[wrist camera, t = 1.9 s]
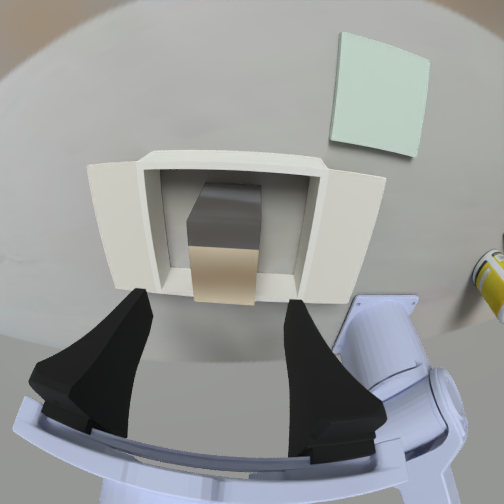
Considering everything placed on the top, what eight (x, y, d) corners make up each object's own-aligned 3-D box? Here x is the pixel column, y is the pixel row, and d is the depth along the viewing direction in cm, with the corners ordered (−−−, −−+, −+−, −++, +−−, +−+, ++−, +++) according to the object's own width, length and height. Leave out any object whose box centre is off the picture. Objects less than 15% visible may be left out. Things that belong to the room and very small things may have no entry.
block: (255, 253, 23) (254, 305, 18) (207, 250, 23) (194, 301, 18) (260, 185, 19) (260, 225, 14) (205, 182, 19) (186, 221, 14)
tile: (412, 155, 17) (415, 157, 17) (329, 138, 17) (331, 140, 17) (425, 61, 13) (429, 61, 12) (339, 33, 12) (341, 31, 12)
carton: (340, 281, 24) (347, 303, 22) (127, 267, 24) (115, 288, 21) (370, 165, 18) (386, 179, 15) (106, 154, 18) (86, 166, 15)
